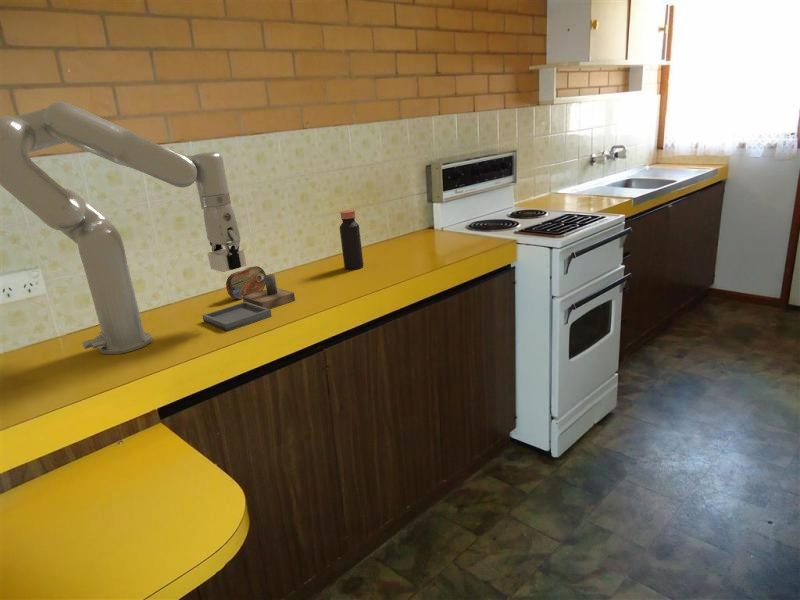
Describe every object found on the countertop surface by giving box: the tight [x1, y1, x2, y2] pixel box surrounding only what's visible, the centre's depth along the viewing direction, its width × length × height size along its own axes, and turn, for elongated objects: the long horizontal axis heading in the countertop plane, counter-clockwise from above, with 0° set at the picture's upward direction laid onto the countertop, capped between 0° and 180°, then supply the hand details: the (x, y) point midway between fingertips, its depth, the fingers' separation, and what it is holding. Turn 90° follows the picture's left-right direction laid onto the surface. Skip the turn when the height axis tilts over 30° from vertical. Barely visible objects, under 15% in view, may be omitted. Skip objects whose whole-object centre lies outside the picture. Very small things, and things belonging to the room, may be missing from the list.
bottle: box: [339, 209, 364, 271], centre depth 200 cm, size 7×7×20 cm
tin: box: [225, 265, 267, 300], centre depth 181 cm, size 15×3×8 cm, turn 148°
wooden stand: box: [242, 273, 296, 310], centre depth 171 cm, size 11×11×8 cm
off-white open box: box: [207, 246, 247, 273], centre depth 154 cm, size 7×7×4 cm
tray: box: [201, 301, 272, 332], centre depth 159 cm, size 14×14×2 cm
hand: (228, 266), depth 155 cm, fingers closed on off-white open box, 6 cm apart
